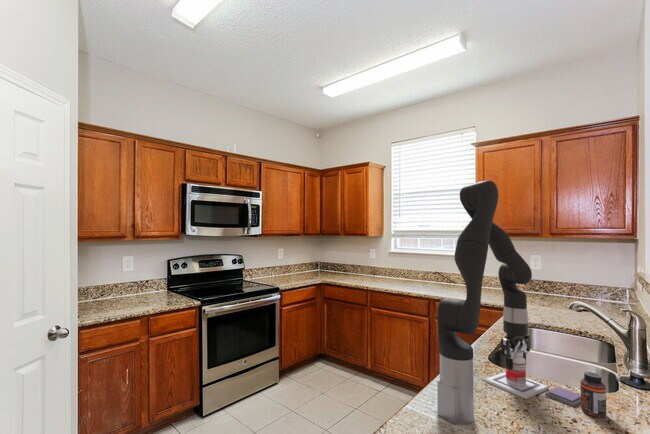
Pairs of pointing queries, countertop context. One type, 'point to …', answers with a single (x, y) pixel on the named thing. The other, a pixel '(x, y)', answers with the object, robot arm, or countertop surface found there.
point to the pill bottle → (517, 370)
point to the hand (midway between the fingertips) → (516, 366)
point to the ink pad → (564, 396)
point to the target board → (522, 391)
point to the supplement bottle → (593, 395)
